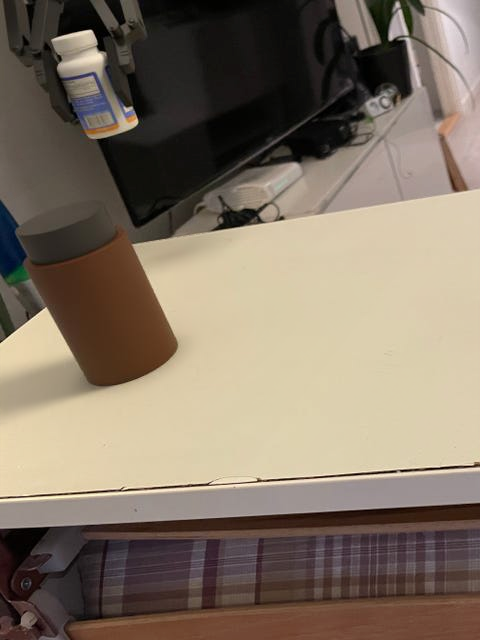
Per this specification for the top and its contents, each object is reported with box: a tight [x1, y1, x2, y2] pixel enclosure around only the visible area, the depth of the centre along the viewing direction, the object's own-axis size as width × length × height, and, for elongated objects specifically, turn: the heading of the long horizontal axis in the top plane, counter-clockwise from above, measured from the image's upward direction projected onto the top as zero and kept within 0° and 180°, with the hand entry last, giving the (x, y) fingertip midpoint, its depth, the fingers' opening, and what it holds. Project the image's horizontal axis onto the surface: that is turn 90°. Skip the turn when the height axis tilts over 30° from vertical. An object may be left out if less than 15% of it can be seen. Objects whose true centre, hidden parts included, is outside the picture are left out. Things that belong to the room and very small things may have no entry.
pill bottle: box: [51, 29, 139, 140], centre depth 79 cm, size 5×5×10 cm
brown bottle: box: [14, 199, 179, 387], centre depth 64 cm, size 8×8×14 cm
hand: (93, 106), depth 77 cm, fingers closed on pill bottle, 5 cm apart
